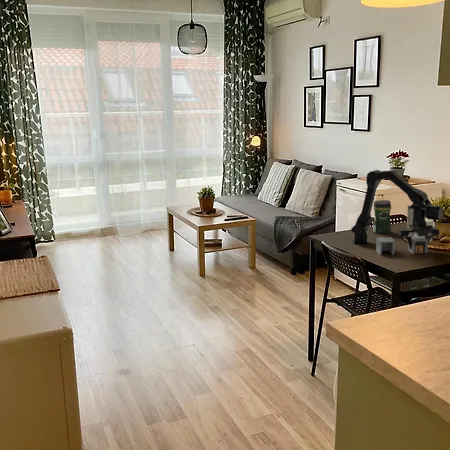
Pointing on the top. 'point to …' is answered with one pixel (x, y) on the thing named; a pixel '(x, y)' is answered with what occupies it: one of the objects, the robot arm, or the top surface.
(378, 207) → the coffee jar
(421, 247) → the letter cube
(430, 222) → the can
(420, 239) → the grey arch block
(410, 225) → the coffee box
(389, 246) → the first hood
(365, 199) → the robot arm
